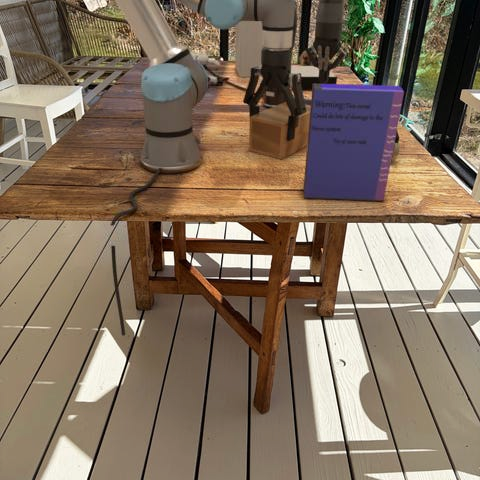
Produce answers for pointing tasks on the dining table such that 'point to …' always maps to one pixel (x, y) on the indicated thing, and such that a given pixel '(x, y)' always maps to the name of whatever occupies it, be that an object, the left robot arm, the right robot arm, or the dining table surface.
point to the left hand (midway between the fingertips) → (272, 135)
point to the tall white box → (248, 47)
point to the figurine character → (396, 146)
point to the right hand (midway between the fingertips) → (323, 82)
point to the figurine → (217, 79)
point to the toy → (204, 59)
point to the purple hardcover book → (351, 141)
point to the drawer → (307, 101)
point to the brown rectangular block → (277, 132)
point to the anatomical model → (305, 59)
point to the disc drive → (310, 76)
